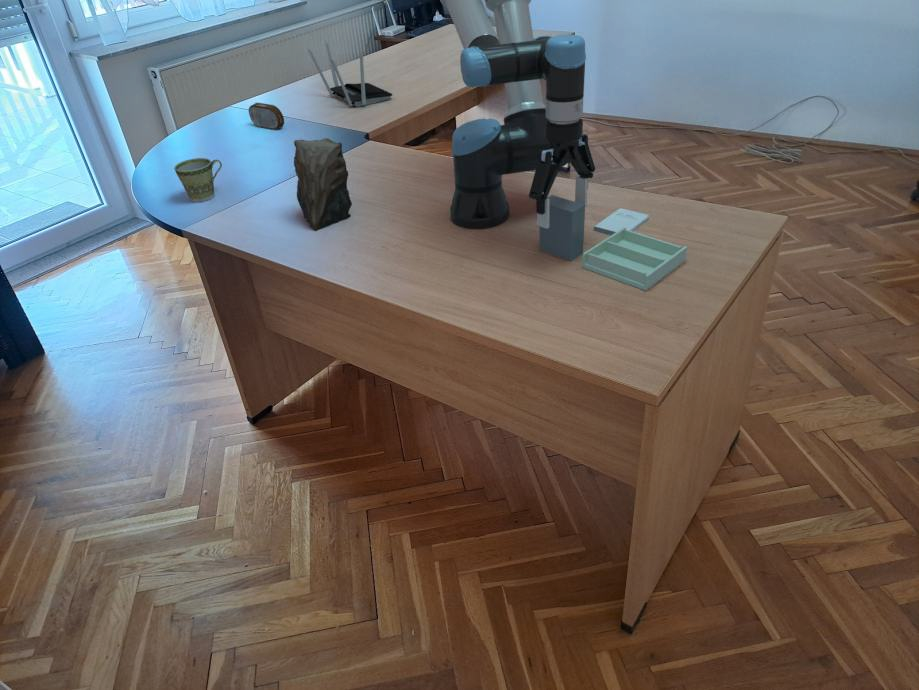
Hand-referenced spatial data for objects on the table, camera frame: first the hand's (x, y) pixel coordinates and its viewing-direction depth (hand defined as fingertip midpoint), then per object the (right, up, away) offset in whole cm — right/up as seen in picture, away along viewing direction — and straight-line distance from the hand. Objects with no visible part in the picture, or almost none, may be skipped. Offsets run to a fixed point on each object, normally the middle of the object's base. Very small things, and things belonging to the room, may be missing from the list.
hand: (562, 215), depth 151 cm
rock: (-58, +4, +28) cm, 65 cm away
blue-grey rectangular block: (0, -7, +6) cm, 9 cm away
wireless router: (-64, +68, +117) cm, 150 cm away
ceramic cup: (-96, +14, +47) cm, 107 cm away
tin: (-92, +50, +95) cm, 141 cm away
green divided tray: (+15, -11, -1) cm, 19 cm away
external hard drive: (+17, 0, +15) cm, 23 cm away
